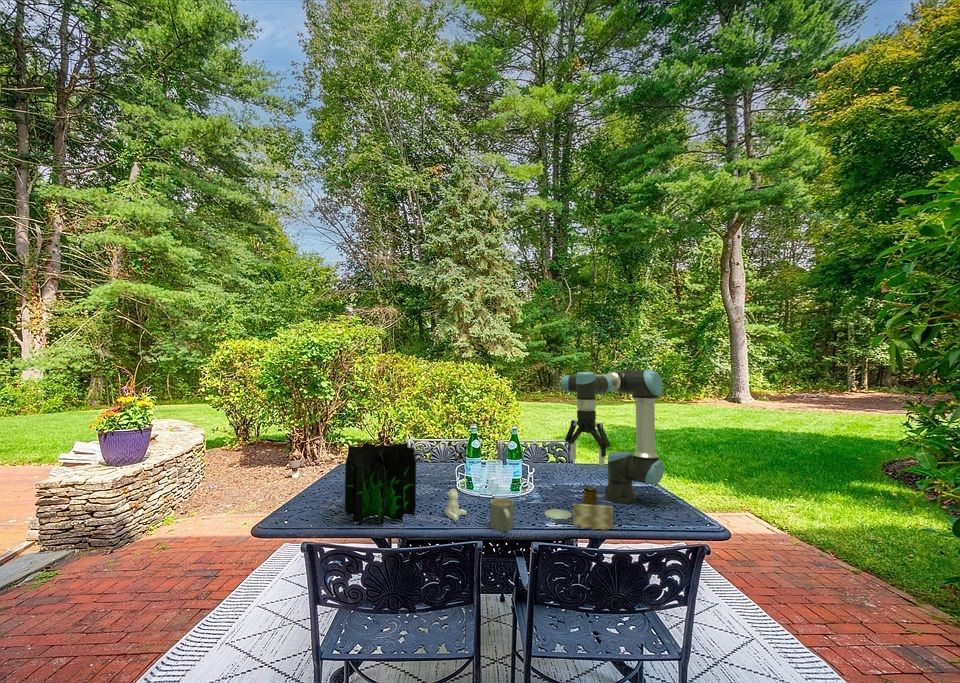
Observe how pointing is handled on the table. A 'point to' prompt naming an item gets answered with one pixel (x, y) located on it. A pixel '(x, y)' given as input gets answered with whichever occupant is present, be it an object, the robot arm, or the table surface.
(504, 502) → the coffee mug
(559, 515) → the pad
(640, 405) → the robot arm
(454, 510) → the white creature statuette
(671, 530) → the table surface
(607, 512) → the birch screen
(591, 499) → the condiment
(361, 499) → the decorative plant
